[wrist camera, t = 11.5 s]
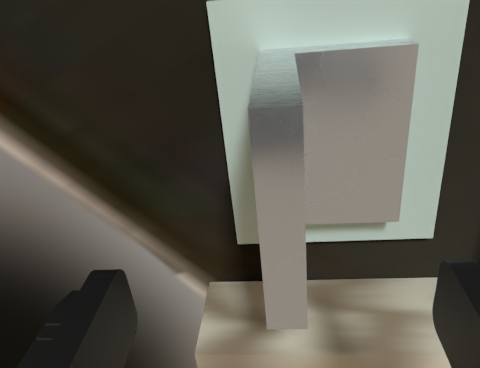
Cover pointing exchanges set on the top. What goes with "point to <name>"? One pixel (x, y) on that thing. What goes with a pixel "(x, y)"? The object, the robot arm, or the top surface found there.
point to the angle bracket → (325, 152)
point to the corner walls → (324, 327)
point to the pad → (336, 32)
